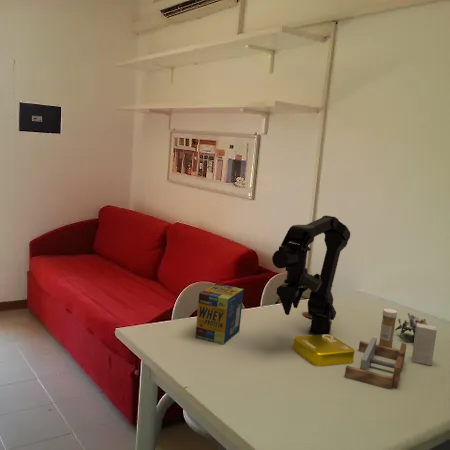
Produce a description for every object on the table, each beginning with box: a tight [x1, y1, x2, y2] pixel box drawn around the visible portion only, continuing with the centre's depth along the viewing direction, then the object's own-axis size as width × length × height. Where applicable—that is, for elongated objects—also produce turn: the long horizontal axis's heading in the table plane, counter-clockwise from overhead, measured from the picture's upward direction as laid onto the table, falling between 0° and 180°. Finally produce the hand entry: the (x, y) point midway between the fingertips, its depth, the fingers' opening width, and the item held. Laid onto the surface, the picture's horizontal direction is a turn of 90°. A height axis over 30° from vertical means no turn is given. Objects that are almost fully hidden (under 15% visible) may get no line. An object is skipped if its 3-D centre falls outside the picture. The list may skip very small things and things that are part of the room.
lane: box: [344, 340, 407, 390], centre depth 152 cm, size 14×25×6 cm, turn 155°
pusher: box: [359, 336, 396, 371], centre depth 151 cm, size 10×21×6 cm, turn 155°
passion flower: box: [394, 312, 428, 338], centre depth 181 cm, size 11×11×12 cm
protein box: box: [195, 283, 245, 345], centre depth 168 cm, size 10×15×16 cm
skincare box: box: [411, 323, 438, 366], centre depth 160 cm, size 6×4×12 cm
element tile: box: [292, 333, 355, 367], centre depth 159 cm, size 15×15×5 cm
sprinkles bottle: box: [378, 308, 398, 348], centre depth 170 cm, size 5×5×13 cm
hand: (291, 311), depth 162 cm, fingers open, 9 cm apart
